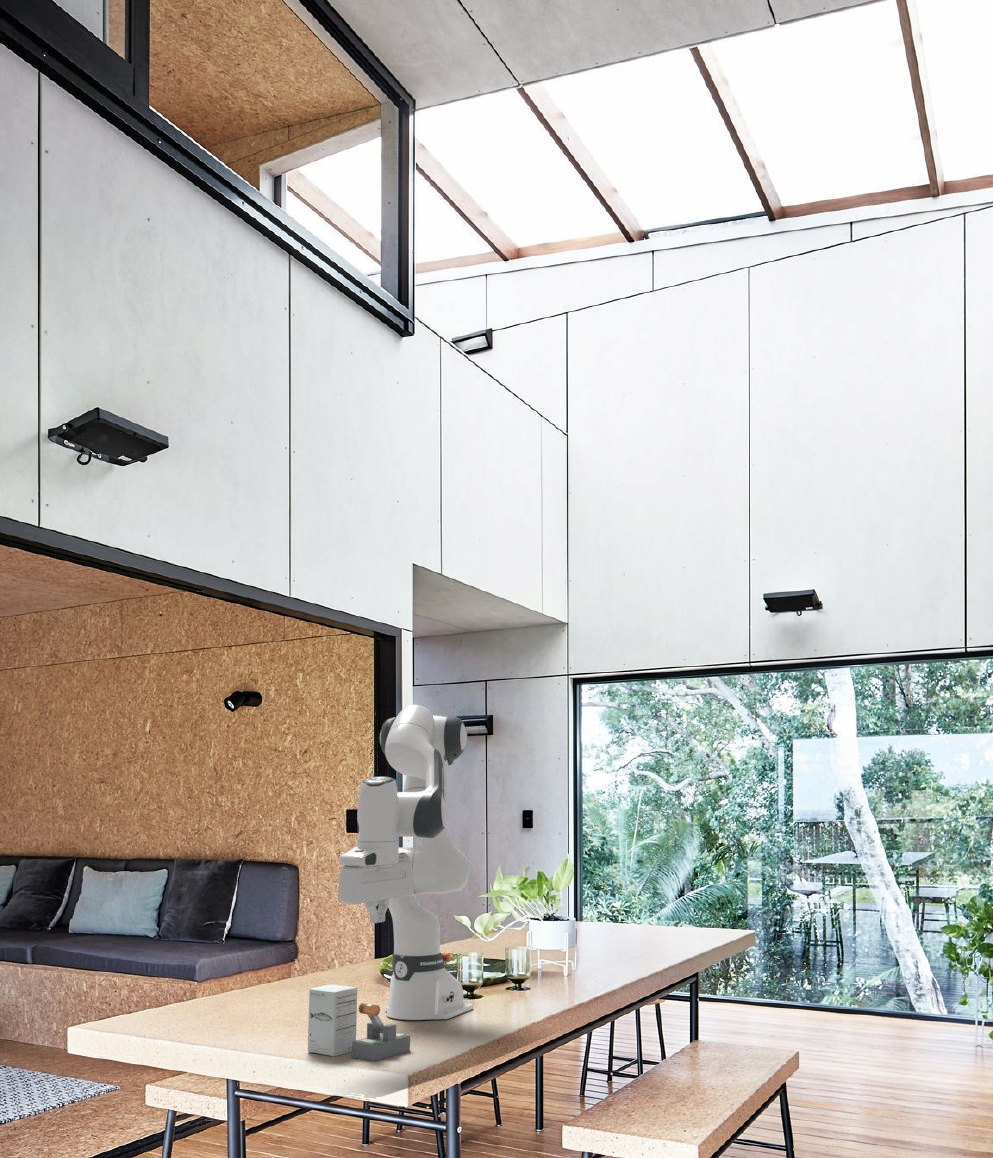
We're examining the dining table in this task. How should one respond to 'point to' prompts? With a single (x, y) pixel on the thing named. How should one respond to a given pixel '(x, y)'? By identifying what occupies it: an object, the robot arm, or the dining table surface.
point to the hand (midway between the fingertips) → (377, 922)
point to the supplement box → (332, 1019)
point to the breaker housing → (380, 1043)
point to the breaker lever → (372, 1015)
